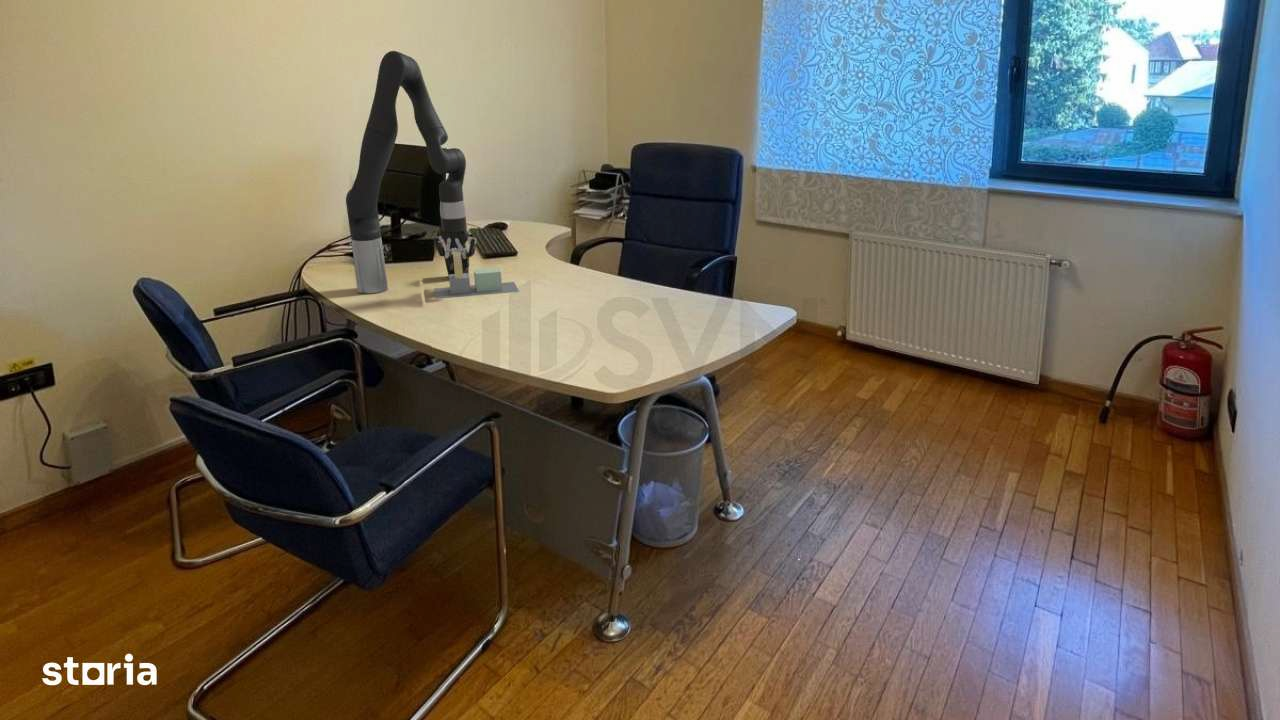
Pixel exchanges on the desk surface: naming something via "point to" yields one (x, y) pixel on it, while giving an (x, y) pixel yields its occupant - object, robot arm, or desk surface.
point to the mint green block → (488, 280)
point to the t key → (457, 264)
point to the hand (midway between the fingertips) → (458, 269)
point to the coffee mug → (453, 262)
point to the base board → (473, 291)
